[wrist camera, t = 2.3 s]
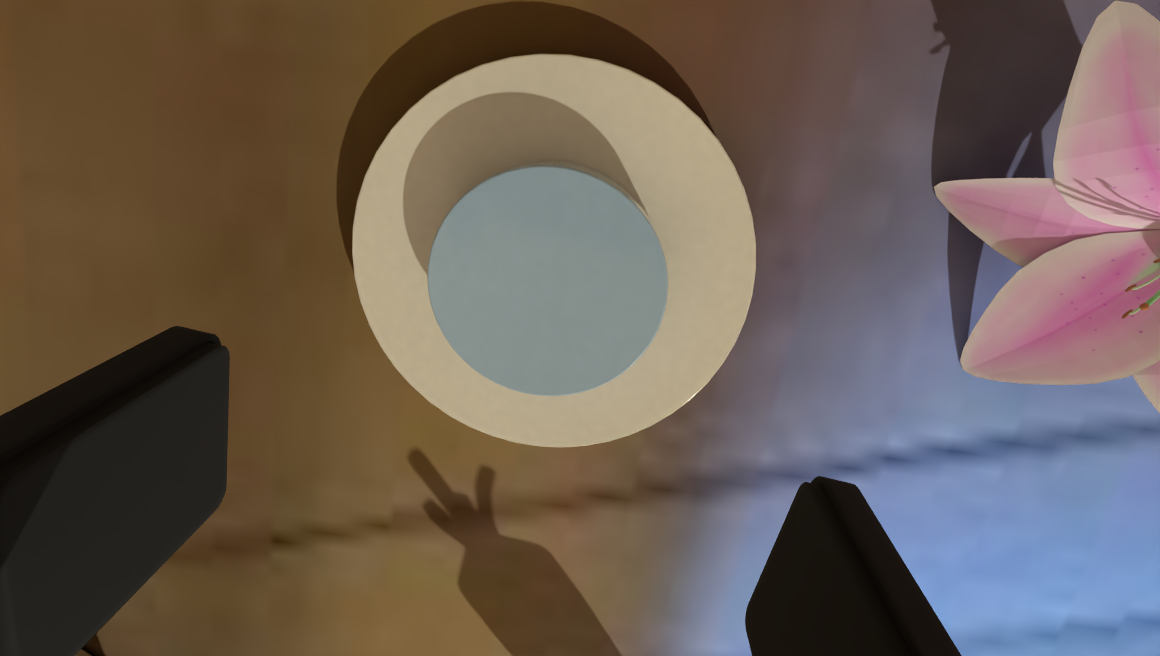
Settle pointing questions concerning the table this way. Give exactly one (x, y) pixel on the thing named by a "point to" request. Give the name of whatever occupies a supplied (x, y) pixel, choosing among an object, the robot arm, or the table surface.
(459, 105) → the dessert plate
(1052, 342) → the lily
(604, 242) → the blue-grey cylinder
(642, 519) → the table surface
